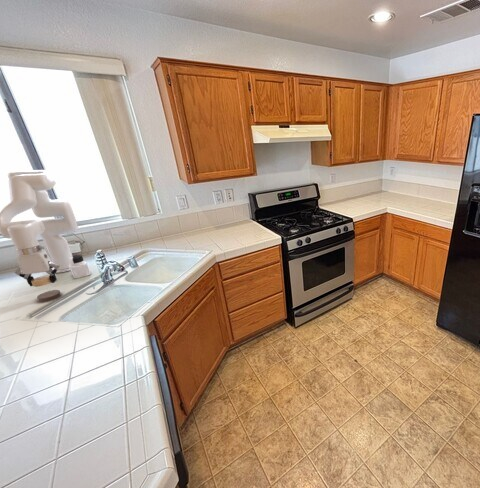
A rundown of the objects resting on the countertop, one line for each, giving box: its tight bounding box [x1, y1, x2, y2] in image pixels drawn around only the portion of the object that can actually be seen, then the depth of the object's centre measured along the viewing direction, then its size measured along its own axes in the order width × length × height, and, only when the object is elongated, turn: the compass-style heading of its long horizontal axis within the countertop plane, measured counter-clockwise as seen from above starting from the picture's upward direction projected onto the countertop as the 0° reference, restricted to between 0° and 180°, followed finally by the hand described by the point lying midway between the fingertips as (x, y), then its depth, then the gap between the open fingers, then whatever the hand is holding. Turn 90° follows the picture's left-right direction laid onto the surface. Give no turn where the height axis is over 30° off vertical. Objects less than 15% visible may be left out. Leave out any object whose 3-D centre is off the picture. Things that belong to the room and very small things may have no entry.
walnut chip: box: [36, 289, 62, 303], centre depth 132 cm, size 8×8×2 cm
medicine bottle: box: [68, 254, 91, 280], centre depth 153 cm, size 7×7×12 cm
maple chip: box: [31, 274, 52, 288], centre depth 129 cm, size 7×7×3 cm
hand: (43, 283), depth 129 cm, fingers closed on maple chip, 7 cm apart
